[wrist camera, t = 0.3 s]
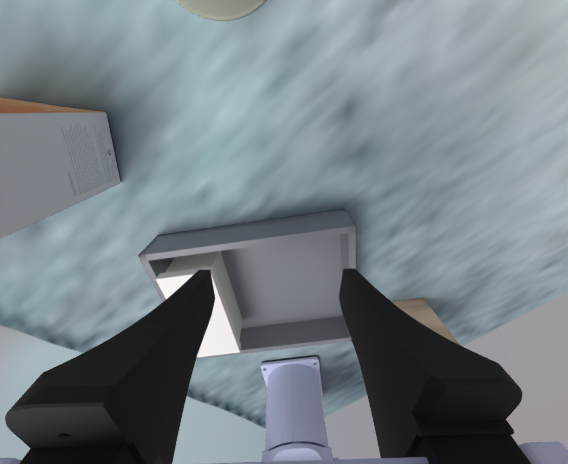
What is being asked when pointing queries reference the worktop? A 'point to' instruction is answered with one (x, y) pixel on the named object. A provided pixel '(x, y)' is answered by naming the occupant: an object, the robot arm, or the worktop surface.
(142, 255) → the tray
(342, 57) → the worktop surface
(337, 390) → the worktop surface
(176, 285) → the white box
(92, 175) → the small box
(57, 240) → the worktop surface
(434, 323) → the wood block
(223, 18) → the can
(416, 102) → the worktop surface
